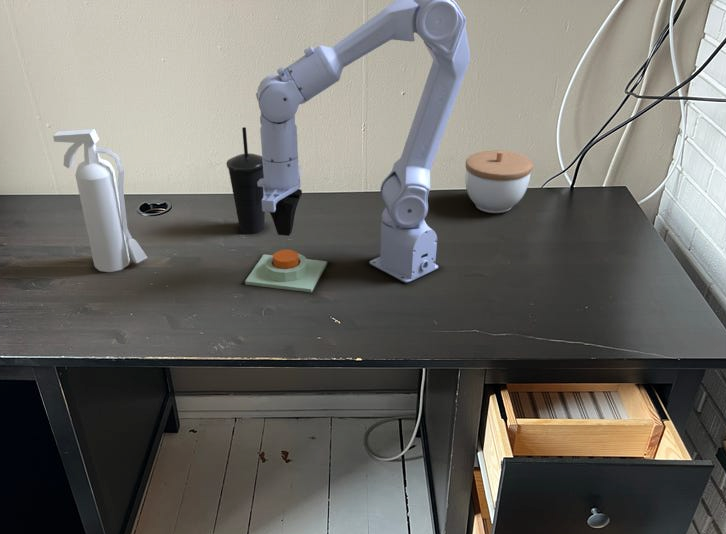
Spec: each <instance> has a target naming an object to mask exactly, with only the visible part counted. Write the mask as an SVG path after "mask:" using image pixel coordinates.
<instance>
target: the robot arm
mask: <svg viewBox="0 0 726 534" xmlns="http://www.w3.org/2000/svg"><path fill="white" fill-rule="evenodd" d="M466 27H467V18H466V16H465V15H464V13H463V11H462V9H461V8H460V6H459V4H458V3H457V2H456V1H455V0H394V1H393V2H391V3H390V4H389V5H387V6H386V7H385V8H384V9H382V10H381V11H380V12H378V13H377V14H376V15H374V16H373V17H371V18H370V19H368V20H367V21H366V22H365V23H363V24H362V25H360V26H359V27H358V28H356V29H355V30H354V31H352V32H351V33H350V34H348V35H347V36H346V37H344V38H343V39H341V40H340V41H339V42H338V43H336V44H335V45H333V46H325V45H320V44H319V45H318V46H316V47H315V48H313V46H311V45H310V46H308V47H307V48H305V49H304V50H303V53H304V55H303V56H301V57H300V58H298V59H296V60H295V61H294V62H292V63H291V64H289V65H287V67H285V68H284V67H283V66H281V67H279V68H277V70H276V72H277V73H276V74H273V73H272V74H269V75H267V76H266V77H264V78H263V79H262V80H261V81H260V83H259V85H258V87H257V91H256V94H255V96H256V100H257V102H258V108H259V111H260V116H259V123H260V125H261V126H260V128H259V132H260V145H261V156H262V160H263V173H264V178H261V179H260V180H259V181H258V182H257V185H258V187H263V199H262V211H265V213H269V215H270V216H271V220H272V222H273V224H274V228H275V230H276V233H277V235H278V236H287V237H289V236H290V235H291V234H292V231H293V227H294V224H295V223H294V222H295V214H296V212H297V211H296V210H297V207H298V204H299V202H300V199H301V197H302V195H303V190H302V189H300V188H301V186H302V185H301V177H302V175H301V165H299V149H298V147H299V146H298V145H299V144H298V143H299V142H298V127H297V125H296V114H297V111H298V109H299V106H300V105H303V104H305V103H307V102H309V101H310V100H312V99H313V98H314V97H316V96H318V95H319V94H320V93H323V92H324V91H325V90H327V89H328V88H331V86H333V85H334V84H336V83H337V82H339V81H340V79H341V75H342V72H343V69H344V68H345V67H347V66H349V65H350V64H352V63H354V62H355V61H358V60H359V59H361V58H363V57H364V56H366V55H368V54H369V53H372V52H373V51H375V50H377V49H378V48H379V47H381V46H383V45H384V44H386V43H388V42H390V41H393V40H394V41H403V42H415V40H416V39H415V34H417V35H418V36H419V37H420V39H421V40H422V41H423V43H424V45H425V47H426V50H427V51H428V52H429V53H428V54H430V57H431V58H432V63H431V66H430V69H429V72H428V75H427V78H426V80H425V81H426V82H425V84H424V87H423V90H422V93H421V96H420V99H419V102H418V105H417V108H416V110H415V114H414V117H413V120H412V123H411V126H410V129H409V132H408V134H407V137H406V141H405V143H404V147H403V150H402V153H401V155H400V158H398V159H397V160H396V161H394V163H393V166H392V169H391V171H390V172H389V174H388V175H387V176H386V177H385V178H384V179H383V181H382V183H381V185H380V190H379V191H380V192H379V193H380V197H381V199H382V201H383V202H384V205H385V207H384V210H383V211H382V213H381V216H380V217H381V218H380V219H381V221H380V225H381V226H380V252H379V253H380V254H379V256H378V257H376V258H374V259H371V260H369V265H371V266H372V267H374V268H376V269H378V270H380V271H382V272H384V273H386V274H387V275H390V276H392V277H393V278H395V279H396V280H399V281H401V282H403V283H405V284H408V283H411V282H413V281H415V280H417V279H418V278H422V277H423V276H425V275H427V274H429V273H432V272H434V271H436V270H437V269H439V265H438V264H436V259H437V249H438V236H437V233H436V231H435V230H434V229H433V228H431V227H430V226H429V225H428V224H427V223H426V220H425V219H426V217H427V215H428V212H429V202H428V197H429V194H430V191H431V169H432V166H433V164H434V161H435V159H436V155H437V153H438V150H439V147H440V144H441V142H442V139H443V136H444V133H445V130H446V127H447V125H448V122H449V119H450V117H451V114H452V112H453V109H454V106H455V103H456V100H457V98H458V95H459V91H460V89H461V86H462V84H463V81H464V78H465V76H466V72H467V69H468V67H469V65H470V62H471V61H470V60H471V52H470V46H469V40H468V33H467V28H466Z"/></svg>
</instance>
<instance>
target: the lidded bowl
mask: <svg viewBox="0 0 726 534" xmlns="http://www.w3.org/2000/svg"><path fill="white" fill-rule="evenodd" d="M533 166H534V164H533V161H532V160H531V159H530V158H529V156H526V155H524V154H521V153H519V152H515V151H510V150H498V149H497V150H484V151H479V152H476V153H473V154H470V155H469V156H467V158H466V160H465V173H464V174H465V176H464V180H465V182H464V183H465V190H466V192H467V196H468V198H469V199H470V201H471V202H472V203H473V204H474V205H475V207H476V209H478V210H480V211H482V212H484V213H485V212H486V213H491V214H500V213H506V212H508V211H510V210H511V209H513V207H515V205H517V204H518V203H519V202H520V201H521V200H522V199H523V197H524V196H525V194H526V193H527V190H528V188H529V184H530V179H531V175H532V171H533Z"/></svg>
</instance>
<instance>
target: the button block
mask: <svg viewBox="0 0 726 534" xmlns="http://www.w3.org/2000/svg"><path fill="white" fill-rule="evenodd" d="M273 255H274V254H263V255H262V256H261V257H260V259H259V260H258V262H257V263H256V264H255V266H254V267H253V269H252V270H251V272H250V273H249V274H248V276H247V278H246V279H245V280H244V285H246V286H247V285H248V286H255V287H264V288H273V289H281V290H287V291H295V292H296V291H297V292H305V293H313V291H314V290H315V287H316V286H317V283H318V282H319V279H320V278H321V276H322V274H323V273H324V270H325V269H326V267H327V265H328V261H325V260H321V259H320V260H319V259H309V258H307V257H306V256H305V255H303V254H300V253H298V259H299V264H298V266H296V267H294V268H290V269H278V268H276V267H274V264H273Z"/></svg>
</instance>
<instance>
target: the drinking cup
mask: <svg viewBox="0 0 726 534" xmlns="http://www.w3.org/2000/svg"><path fill="white" fill-rule="evenodd" d="M241 130H242V142H243V143H242V144H243V153H241V154H237V155H235V156H233V157H231V158H229V159H228V160H226V163H225V164H226V168H227V169H228V173H229V179H230V184H231V190H232V195H233V200H234V204H235V210H236V216H237V220H238V227H239V231H240V232H241V233H243V234H246V235H256V234H259V233H261V232H263V231H264V230H265V223H266V221H265V220H266V219H265V218H266V217H265V216H266V212H265V211H262V199H263V187H258V185H257V182H258V181H259V180H260V179H261V178H264V173H263V160H262V155H261V154H255V153H249V149H248V137H247V127H245V126H243V127H242V128H241Z"/></svg>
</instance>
